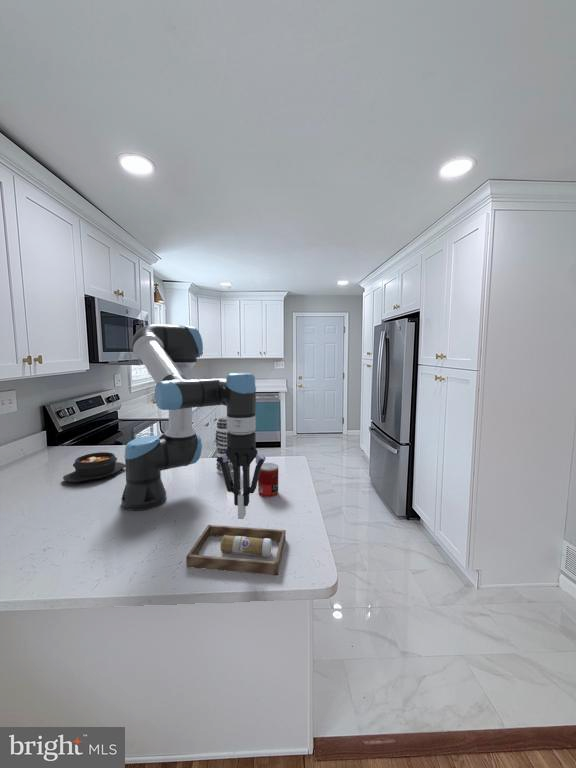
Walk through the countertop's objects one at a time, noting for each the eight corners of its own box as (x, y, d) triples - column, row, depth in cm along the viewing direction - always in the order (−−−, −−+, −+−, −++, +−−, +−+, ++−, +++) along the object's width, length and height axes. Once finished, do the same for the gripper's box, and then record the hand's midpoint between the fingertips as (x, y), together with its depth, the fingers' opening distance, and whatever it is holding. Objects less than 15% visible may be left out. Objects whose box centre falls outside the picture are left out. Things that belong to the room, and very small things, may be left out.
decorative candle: (237, 472, 151) (237, 418, 149) (217, 474, 148) (216, 420, 145) (233, 466, 160) (233, 415, 157) (214, 468, 156) (213, 416, 154)
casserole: (77, 490, 131) (75, 469, 130) (54, 480, 141) (53, 461, 140) (134, 471, 152) (134, 453, 151) (111, 463, 162) (111, 447, 161)
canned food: (275, 498, 125) (275, 470, 123) (255, 496, 126) (255, 468, 125) (280, 490, 132) (280, 463, 131) (261, 488, 134) (261, 462, 133)
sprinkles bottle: (221, 534, 90) (270, 538, 88) (226, 535, 94) (272, 539, 92) (218, 552, 88) (268, 557, 86) (223, 553, 92) (270, 557, 90)
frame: (186, 567, 84) (186, 556, 84) (208, 534, 100) (208, 524, 99) (277, 575, 82) (277, 563, 81) (285, 539, 97) (285, 530, 97)
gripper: (212, 433, 84) (214, 521, 87) (262, 435, 83) (262, 525, 85) (222, 427, 92) (223, 508, 94) (268, 429, 90) (268, 511, 92)
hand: (241, 516), depth 89 cm, fingers closed
